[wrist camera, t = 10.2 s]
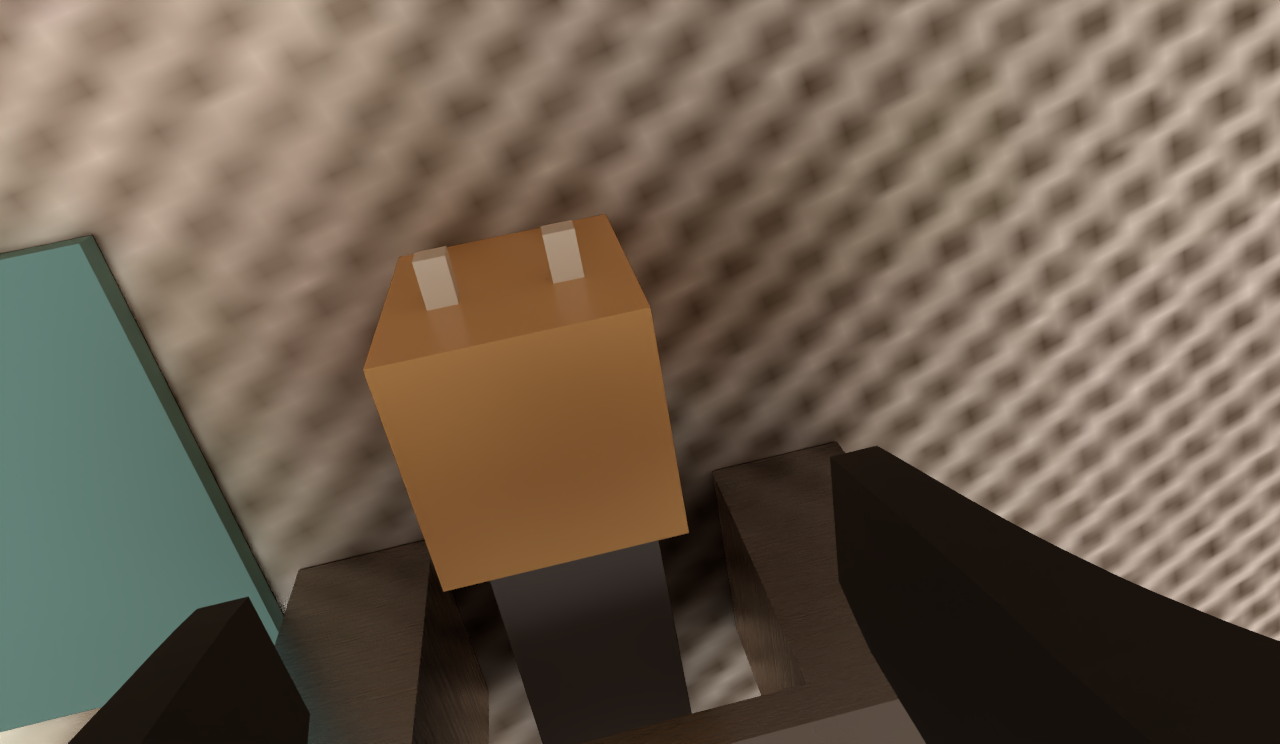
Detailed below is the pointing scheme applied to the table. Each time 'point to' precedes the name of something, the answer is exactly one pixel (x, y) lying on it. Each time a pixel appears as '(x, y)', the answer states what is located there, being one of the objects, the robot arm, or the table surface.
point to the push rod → (595, 644)
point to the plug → (526, 402)
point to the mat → (96, 494)
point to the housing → (708, 740)
